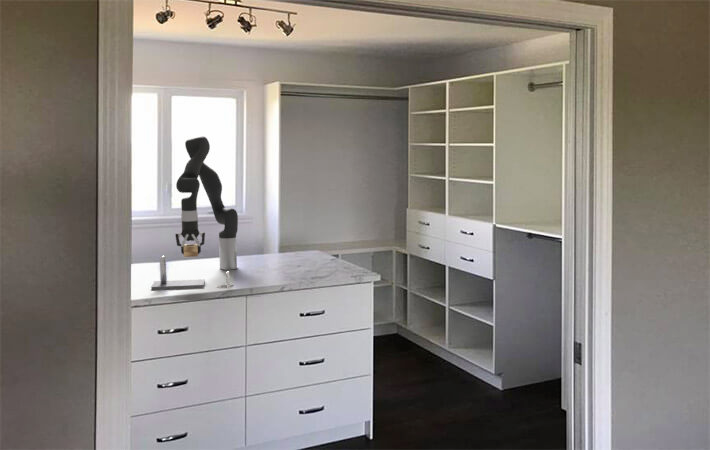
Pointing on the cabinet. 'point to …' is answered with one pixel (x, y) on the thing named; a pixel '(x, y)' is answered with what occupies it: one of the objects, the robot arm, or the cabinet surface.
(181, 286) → the lacing board
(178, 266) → the cabinet surface
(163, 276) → the steel needle
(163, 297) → the cabinet surface
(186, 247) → the oak bead
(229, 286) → the stand
